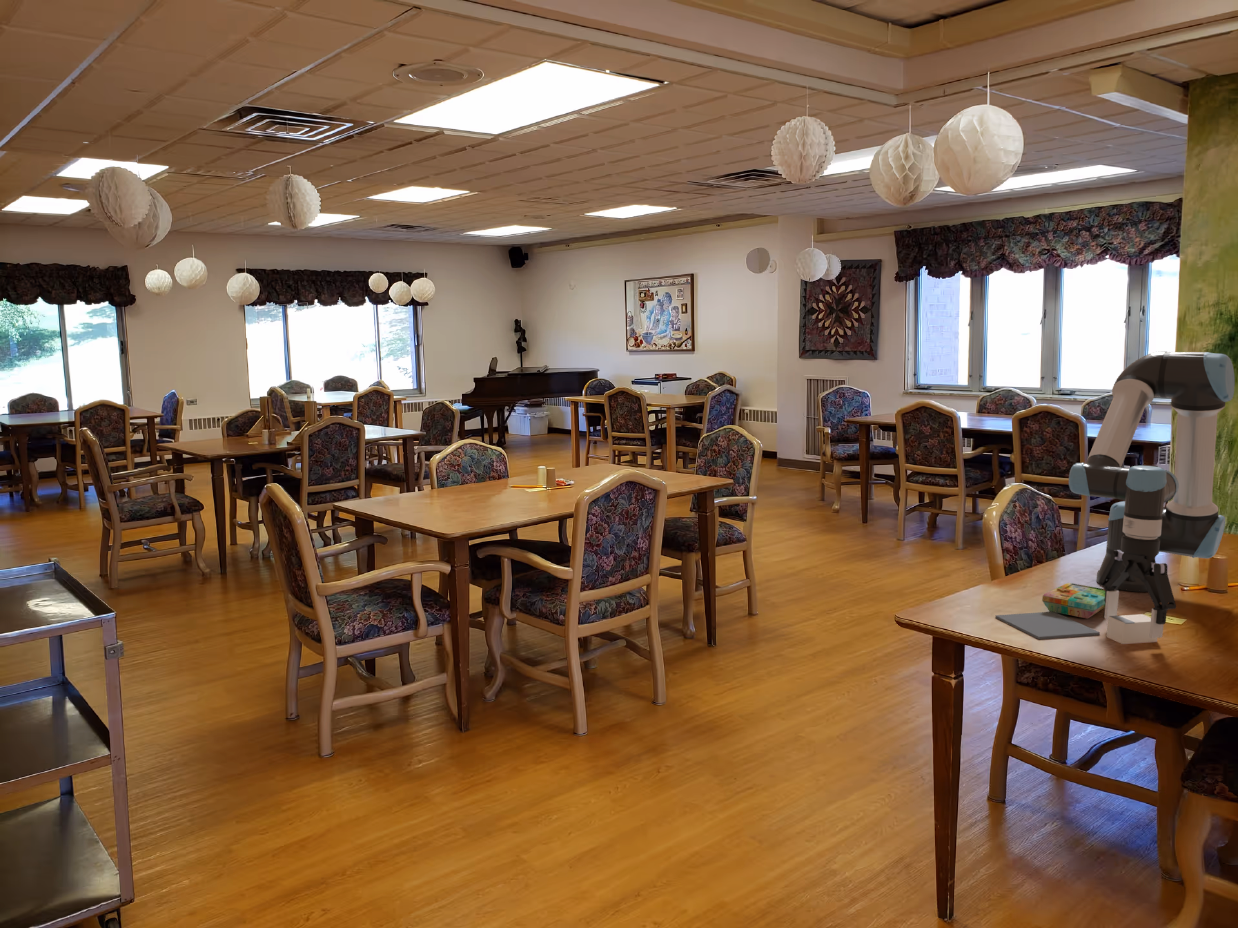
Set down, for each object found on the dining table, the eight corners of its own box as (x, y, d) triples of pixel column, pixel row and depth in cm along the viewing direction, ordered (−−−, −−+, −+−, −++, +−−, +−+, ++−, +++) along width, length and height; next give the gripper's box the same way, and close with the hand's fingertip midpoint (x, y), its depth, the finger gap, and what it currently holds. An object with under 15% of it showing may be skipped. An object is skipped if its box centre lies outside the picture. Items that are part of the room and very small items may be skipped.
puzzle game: (1043, 591, 230) (1068, 579, 245) (1041, 610, 230) (1066, 596, 245) (1094, 601, 222) (1117, 588, 237) (1092, 620, 223) (1115, 606, 238)
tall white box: (1140, 635, 215) (1142, 613, 215) (1157, 642, 211) (1159, 620, 210) (1106, 637, 214) (1108, 615, 213) (1122, 644, 209) (1124, 623, 208)
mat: (1052, 613, 230) (1053, 611, 230) (1099, 634, 215) (1099, 632, 215) (995, 617, 227) (995, 615, 227) (1038, 639, 211) (1038, 636, 211)
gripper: (1087, 524, 220) (1079, 611, 223) (1171, 549, 196) (1161, 646, 199) (1114, 523, 221) (1106, 609, 224) (1201, 548, 197) (1191, 644, 200)
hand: (1132, 627), depth 212 cm, fingers open, 13 cm apart
